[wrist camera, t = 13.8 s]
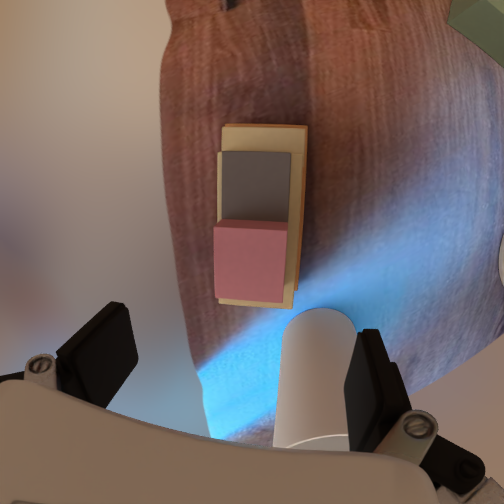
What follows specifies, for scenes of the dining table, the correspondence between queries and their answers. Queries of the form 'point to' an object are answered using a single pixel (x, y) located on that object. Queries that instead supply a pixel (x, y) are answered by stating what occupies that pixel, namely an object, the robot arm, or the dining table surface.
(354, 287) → the dining table surface
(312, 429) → the cup
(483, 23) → the rectangular block
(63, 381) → the robot arm
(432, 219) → the dining table surface
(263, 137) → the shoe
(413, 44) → the dining table surface
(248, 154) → the grey and pink l-bracket
